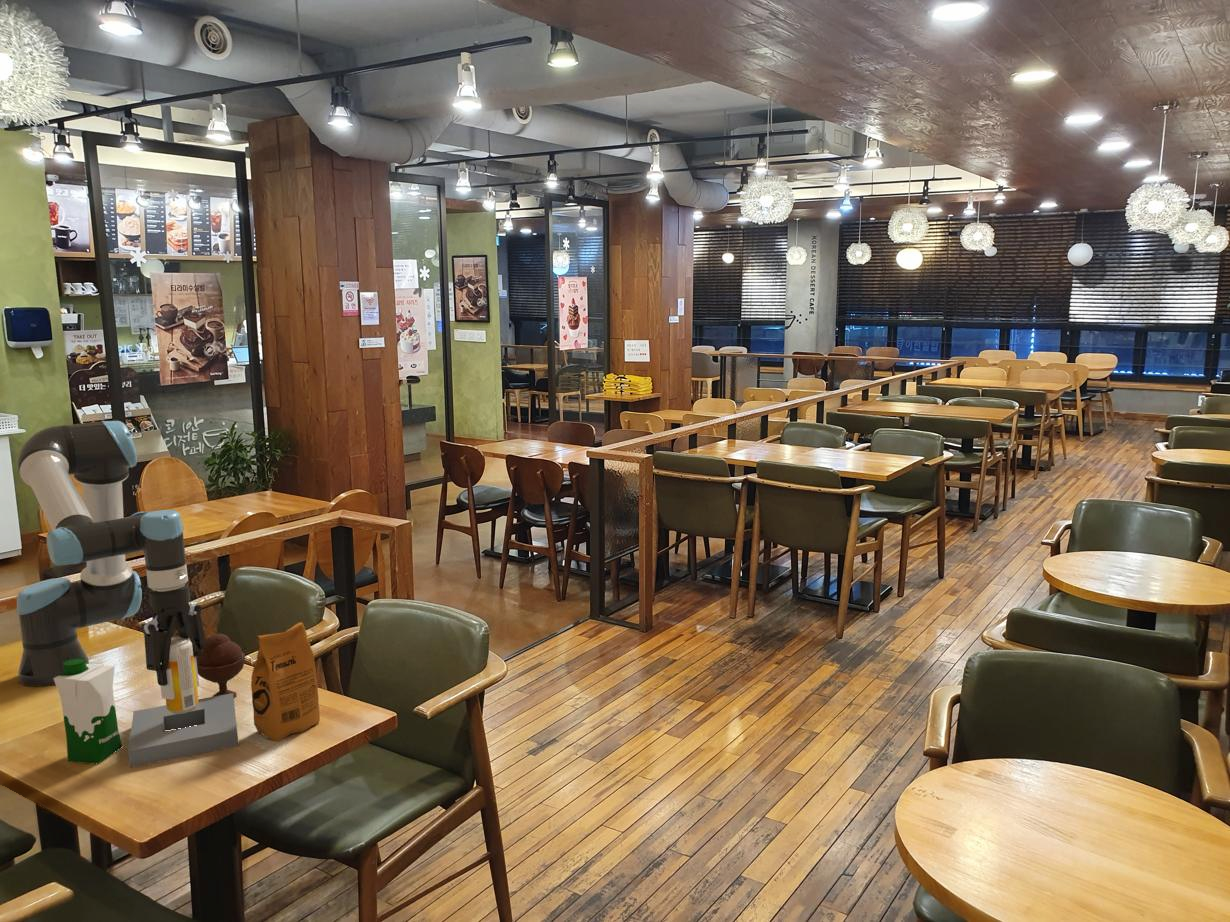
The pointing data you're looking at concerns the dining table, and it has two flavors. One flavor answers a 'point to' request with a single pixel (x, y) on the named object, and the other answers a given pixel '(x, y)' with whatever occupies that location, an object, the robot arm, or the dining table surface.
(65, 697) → the milk carton
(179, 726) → the socket holder
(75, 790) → the dining table surface
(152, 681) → the dining table surface
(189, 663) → the beer can
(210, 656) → the ice cream bowl
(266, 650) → the coffee package
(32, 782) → the dining table surface
